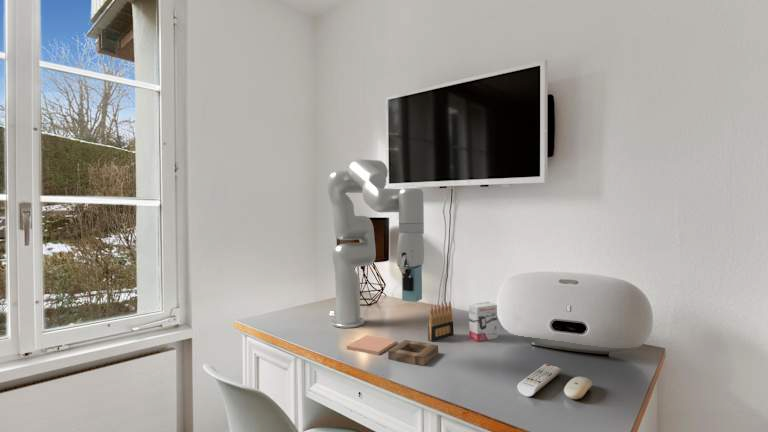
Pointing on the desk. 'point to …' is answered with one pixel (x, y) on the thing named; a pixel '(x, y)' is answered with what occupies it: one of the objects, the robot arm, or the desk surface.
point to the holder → (413, 352)
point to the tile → (372, 344)
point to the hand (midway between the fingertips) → (412, 288)
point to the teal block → (414, 286)
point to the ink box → (483, 321)
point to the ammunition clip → (440, 322)
